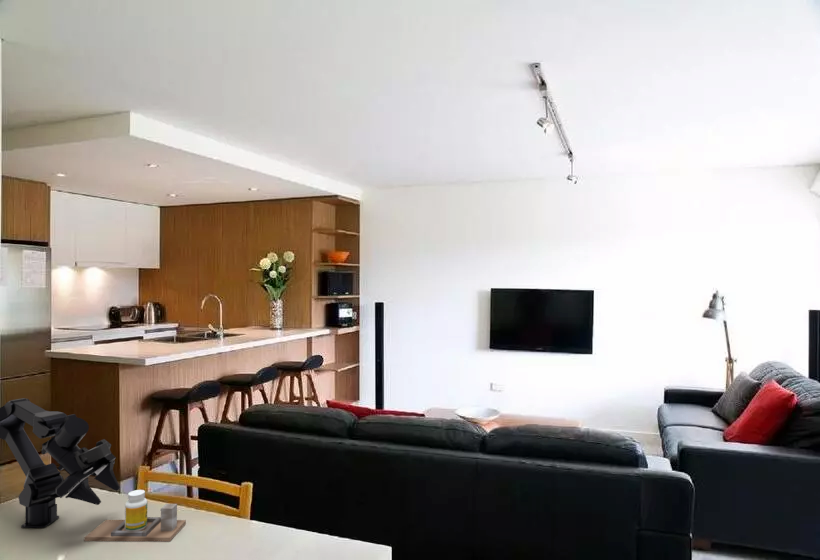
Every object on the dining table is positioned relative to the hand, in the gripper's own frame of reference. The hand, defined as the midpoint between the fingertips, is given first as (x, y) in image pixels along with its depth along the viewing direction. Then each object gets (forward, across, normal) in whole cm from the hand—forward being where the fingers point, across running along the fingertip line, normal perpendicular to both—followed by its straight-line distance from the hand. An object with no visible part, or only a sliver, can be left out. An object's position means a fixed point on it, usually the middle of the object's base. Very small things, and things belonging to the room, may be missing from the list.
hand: (109, 496), depth 143 cm
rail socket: (+12, 0, +1) cm, 12 cm away
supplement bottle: (+11, 0, +1) cm, 11 cm away
